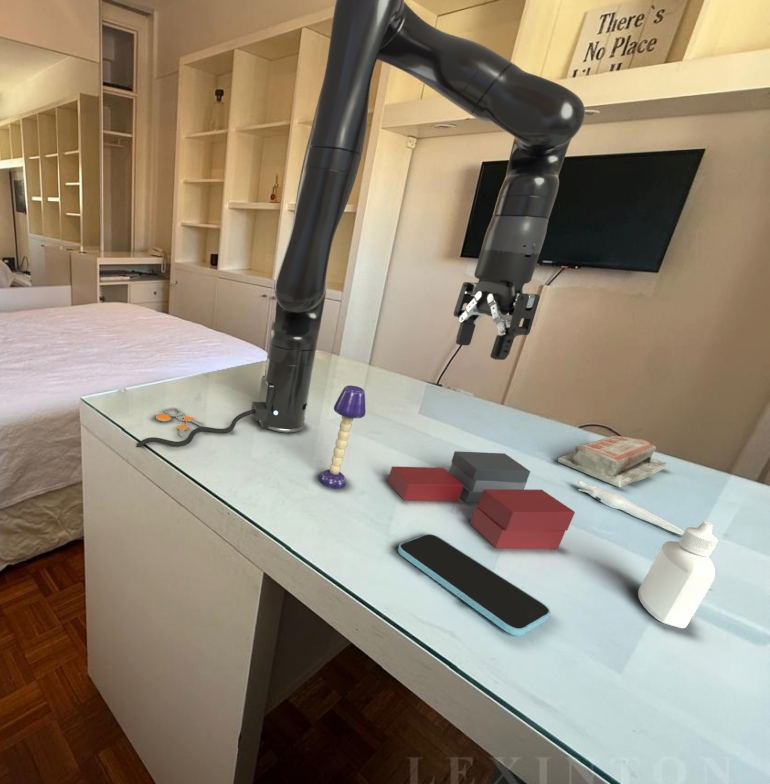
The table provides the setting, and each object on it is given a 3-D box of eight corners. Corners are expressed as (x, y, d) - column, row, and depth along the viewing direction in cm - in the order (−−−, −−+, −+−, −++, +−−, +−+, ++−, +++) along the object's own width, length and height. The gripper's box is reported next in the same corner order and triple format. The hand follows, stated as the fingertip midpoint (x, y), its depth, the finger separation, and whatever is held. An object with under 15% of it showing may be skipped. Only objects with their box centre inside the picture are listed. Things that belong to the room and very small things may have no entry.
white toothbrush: (570, 489, 77) (574, 479, 76) (579, 487, 78) (583, 477, 77) (687, 545, 64) (693, 534, 64) (697, 541, 65) (703, 530, 65)
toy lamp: (349, 479, 76) (369, 385, 70) (349, 493, 72) (370, 395, 66) (319, 473, 77) (337, 380, 71) (318, 486, 73) (336, 389, 67)
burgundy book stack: (496, 549, 61) (510, 512, 59) (469, 523, 66) (481, 487, 64) (561, 550, 61) (577, 513, 59) (529, 524, 67) (542, 489, 65)
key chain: (149, 413, 96) (149, 409, 96) (178, 408, 100) (179, 404, 100) (178, 437, 86) (178, 433, 86) (210, 431, 90) (210, 427, 89)
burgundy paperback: (404, 500, 71) (408, 484, 70) (387, 481, 76) (391, 466, 75) (458, 501, 71) (464, 485, 70) (439, 483, 76) (443, 467, 75)
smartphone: (431, 532, 62) (555, 610, 49) (429, 538, 62) (552, 618, 50) (395, 545, 59) (517, 633, 46) (393, 552, 59) (514, 641, 47)
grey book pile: (466, 503, 71) (477, 469, 69) (442, 481, 77) (452, 450, 75) (522, 504, 72) (534, 471, 70) (494, 482, 78) (505, 451, 76)
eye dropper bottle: (629, 608, 52) (675, 521, 48) (639, 587, 56) (683, 504, 51) (683, 635, 49) (737, 544, 45) (690, 611, 52) (741, 525, 48)
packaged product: (632, 465, 76) (564, 440, 85) (620, 490, 78) (555, 463, 86) (676, 447, 84) (610, 426, 92) (665, 470, 86) (601, 447, 94)
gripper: (457, 245, 75) (432, 340, 81) (523, 250, 62) (488, 363, 68) (499, 247, 76) (471, 341, 82) (573, 253, 63) (534, 365, 69)
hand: (479, 351), depth 75 cm, fingers open, 8 cm apart
